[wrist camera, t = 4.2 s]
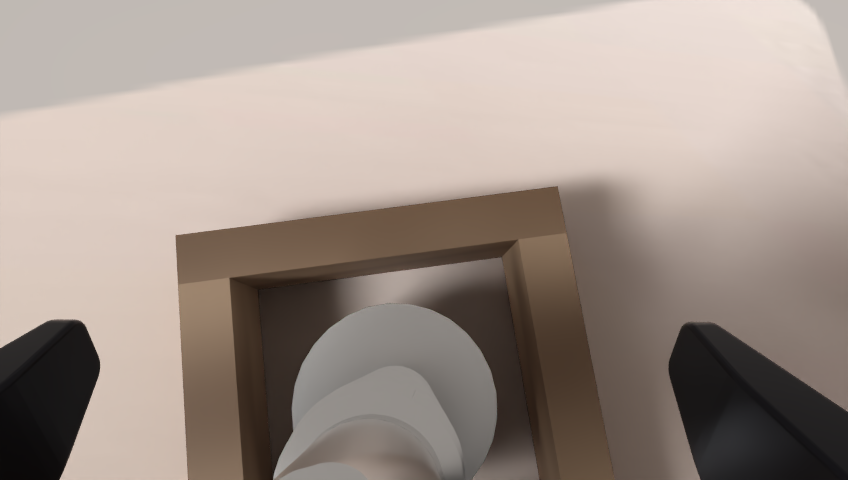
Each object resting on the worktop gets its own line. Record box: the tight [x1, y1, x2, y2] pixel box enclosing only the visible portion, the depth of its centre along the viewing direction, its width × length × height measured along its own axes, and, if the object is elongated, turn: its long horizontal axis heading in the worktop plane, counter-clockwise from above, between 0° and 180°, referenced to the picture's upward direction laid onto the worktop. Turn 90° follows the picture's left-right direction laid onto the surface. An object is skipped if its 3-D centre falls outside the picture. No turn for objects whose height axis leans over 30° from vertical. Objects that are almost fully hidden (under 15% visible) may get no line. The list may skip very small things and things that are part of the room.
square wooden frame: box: [176, 186, 615, 480], centre depth 14 cm, size 9×9×2 cm
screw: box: [273, 303, 497, 480], centre depth 9 cm, size 13×5×5 cm
